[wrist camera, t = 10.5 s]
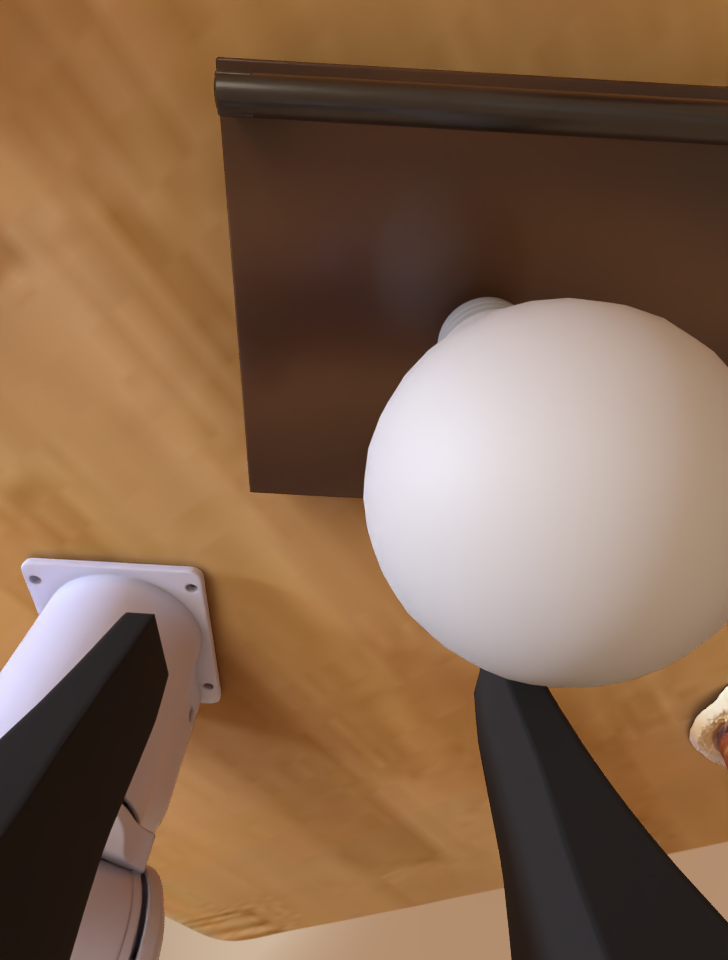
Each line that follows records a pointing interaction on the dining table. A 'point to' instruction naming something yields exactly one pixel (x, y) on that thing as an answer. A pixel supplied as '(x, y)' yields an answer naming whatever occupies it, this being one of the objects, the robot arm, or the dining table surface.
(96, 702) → the robot arm
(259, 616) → the dining table surface
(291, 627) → the dining table surface
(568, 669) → the lightbulb
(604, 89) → the shelf
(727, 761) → the dessert
